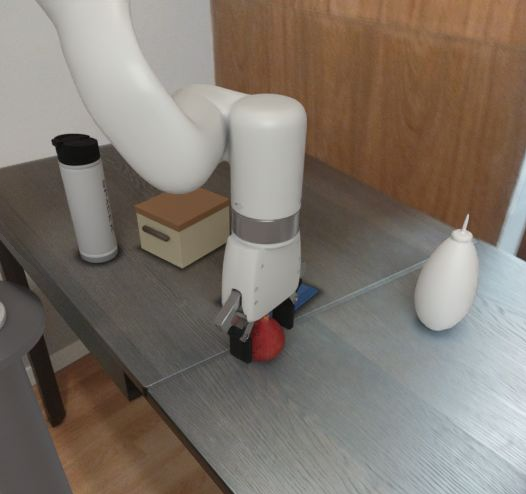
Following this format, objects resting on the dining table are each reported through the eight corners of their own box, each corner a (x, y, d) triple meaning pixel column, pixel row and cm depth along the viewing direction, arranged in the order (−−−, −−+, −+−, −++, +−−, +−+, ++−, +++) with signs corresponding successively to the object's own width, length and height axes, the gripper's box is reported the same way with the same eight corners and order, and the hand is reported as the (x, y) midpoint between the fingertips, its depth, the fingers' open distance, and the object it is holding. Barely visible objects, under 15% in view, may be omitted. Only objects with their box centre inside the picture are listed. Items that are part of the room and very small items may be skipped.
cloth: (271, 329, 77) (271, 326, 77) (219, 302, 82) (219, 299, 81) (317, 292, 84) (318, 289, 84) (268, 269, 89) (268, 267, 88)
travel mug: (71, 254, 91) (42, 135, 78) (105, 240, 95) (82, 124, 81) (91, 268, 88) (64, 147, 74) (125, 254, 91) (105, 135, 78)
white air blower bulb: (473, 333, 77) (515, 220, 66) (433, 349, 74) (469, 235, 63) (435, 304, 83) (468, 195, 71) (396, 319, 80) (423, 207, 68)
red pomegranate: (255, 380, 69) (256, 333, 64) (232, 355, 73) (231, 308, 67) (291, 364, 72) (295, 317, 66) (267, 340, 75) (269, 294, 70)
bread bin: (178, 271, 88) (173, 228, 82) (136, 250, 92) (129, 207, 87) (230, 240, 96) (229, 198, 90) (189, 222, 100) (186, 181, 95)
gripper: (285, 184, 65) (279, 299, 77) (184, 239, 55) (195, 363, 67) (337, 202, 62) (323, 320, 73) (240, 264, 51) (241, 391, 63)
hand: (262, 340), depth 70 cm, fingers open, 8 cm apart
